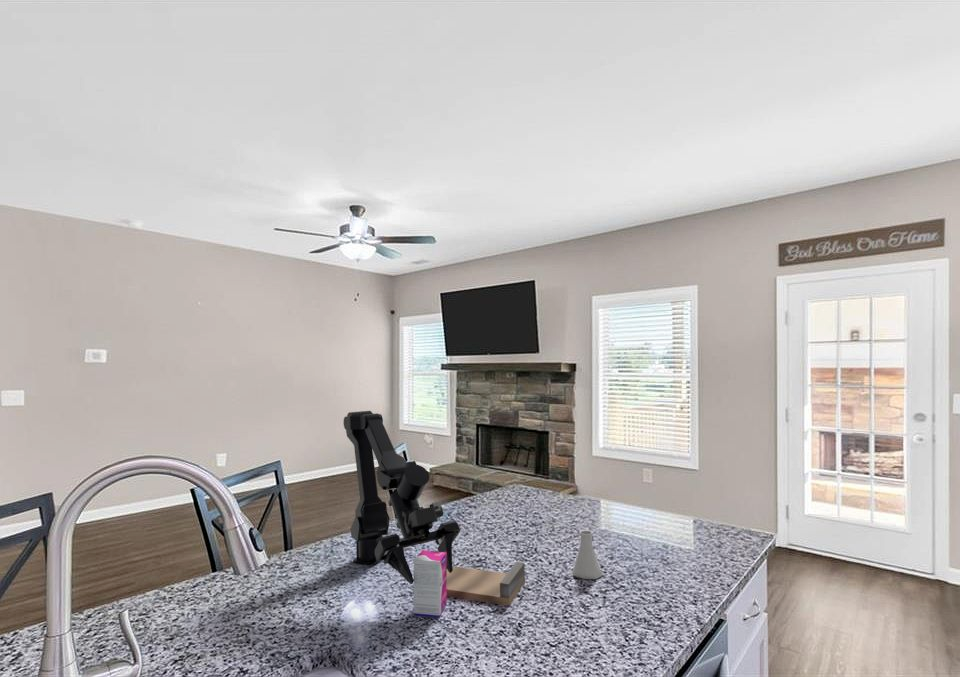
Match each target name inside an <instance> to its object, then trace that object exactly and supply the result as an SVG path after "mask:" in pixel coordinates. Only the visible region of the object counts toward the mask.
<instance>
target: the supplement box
mask: <svg viewBox="0 0 960 677" xmlns="http://www.w3.org/2000/svg"><path fill="white" fill-rule="evenodd" d="M413 580H414V582H413V616H414V617H420V618H421V617H423V618H433V619H439V618H441V616H442V614H443V611H444V610H445V609H446V607H447V604H448V602H447V600H448V599H447V597H448V596H447V552H439V551H438V550H437V551H436V550H421V551H420V552H419V554H417V556H415V559H414V560H413Z"/></svg>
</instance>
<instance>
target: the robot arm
mask: <svg viewBox="0 0 960 677" xmlns="http://www.w3.org/2000/svg"><path fill="white" fill-rule="evenodd" d="M343 429H345V433H346V437H347V439H348V440H349V441H350V442H351V443H352V445H353V447H354V448H353V449H354V457H355V465H356V474H357V483H358V491H359V492H358V493H359V502H358V504H357V506H356V508H355V511H354V512H355V514H354V515H355V517H354V520H353V522H352V524H351V527H350V537H351V538H352V539H353V540H355V544H356V545H355V546H356V548H355V549H356V554H355V555H356V558H354V559H353V560H352V562H353V563H356V564H357V563H358V564H364V565H370V566H371V565H372V566H374V565H376V564H378V563H379V562H383V564H384V565H389V566H390V567H391V568H393V569H394V570H395V571H397V572H398V573H399V574H400V575H401V576H402V577H403V578H404V579H405V580H406V581H407V583H409V584H410V585H412V584H413V585H414V576H413V573H412V571H411V569H410V566H409V563H408V561H407V558H406V556H405V550H404V549H406V548H410V547H414V546H418V545H421V544H425V543H429V542H430V543H431V542H434V541H435V543H436V544H437V546H438V547H437V551H438V552H447V570H448V571H449V573H451V572H452V571H453V550H452V549H453V543H454V542H455V540H456V539H457V537H458V535H459V534H460V532H461V530H462V529H461V527H460V525H459V523H458V522H457V521H455V520H451V521H445V522H441V523H440V524H439V527H438V528H437V529H436V530H434V531H430V530H431V529H432V528H433V527H434V523H437V522H439V518H440V519H441V518H442V517H443V516H444V510H443V509H444V508H443V507H442V506H443V505H441V503H440V501H437V502H433V503H431V504H429V507H423V506H420V504H419V501H418V499H419V498H420V497H422V493H423V492H424V490H425V488H426V487H427V485H428V483H429V481H430V473H429V471H428V470H427V469H426V468H425V467H423V466H421V465H419V464H417V463H416V462H417V461H415V460H412V461H411V460H410V461H407V460H406V458H405V457H404V456H402V455H400V454H399V453H397V452H396V450H395V448H394V447H395V446H394V445H393V443H392V440H391V438H390V437H389V436H390V435H389V434H388V432H387V429H386V428H385V425H384V420H383V415H382V414H381V413H378V412H377V413H373V411H371V410H362V411H361V410H360V411H349V412H348V413H347V415H346V416H344V418H343ZM374 456H375V459H376V462H377V465H378V466H377V467H378V468H377V471H376V467H375V460H374ZM377 483H378V484H377ZM378 485H379V487H380V488H381V490H383V491H390V490H393V491H392V492H391V494H390V496H389V501H388V506H389V507H392V509H393V512H394V514H395V518H396V521H397V522H396V525H395V526H396V528H397V529H400V532H401V534H402V537H403V538H400V535H398V534H397V533H394V534H388V533H389V528H390V527H389V526H390V516H389V513H388V509H387V503H386V502H385V501H383V500H382V498H381V497H379V493H378V492H379V491H378Z"/></svg>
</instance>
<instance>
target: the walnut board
mask: <svg viewBox="0 0 960 677" xmlns="http://www.w3.org/2000/svg"><path fill="white" fill-rule="evenodd" d="M525 568H526V567H525V562H521V561H515V563H514V564H513V565H512V566H511V568H510V569H508V570H509V571H508V572H498V571H492V570H485V569H478V568H477V569H475V568H470V567H469V568H467V567H461V566H455V565H454V566H453V571H452V572H451V573H449V571H448V570H447V597H451V598H457V599H464V600H468V601H469V600H470V601H477V602H481V603H490V604H495V605H501V604H502V606H508V605H511V604H512V603H513V601H514V600H513V599H515V598H516V597H515V596H517V595H518V594H519V592H520V591H519V590H521V589H522V588H523V587H524V585H525V583H526V574H525V572H526V571H525V570H526V569H525ZM523 584H524V585H523ZM521 587H522V588H521ZM517 593H518V594H517ZM511 602H512V603H511Z"/></svg>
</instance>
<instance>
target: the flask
mask: <svg viewBox="0 0 960 677" xmlns="http://www.w3.org/2000/svg"><path fill="white" fill-rule="evenodd" d="M593 534H594V533H593V530H587V529H582V530H579V536H580V543H579V544H580V546H579V549H578V553H577V557H576V559H575V563H574V565H573V568H572V574H573V575H572V576H573V577H577V578H580V579H583V580H597V579H599V578H600V577H602V576H603V572H602V569H601V567H600V563H599V561H598V559H597V556H596V553H595V549H594V546H593V540H592V539H593Z"/></svg>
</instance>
